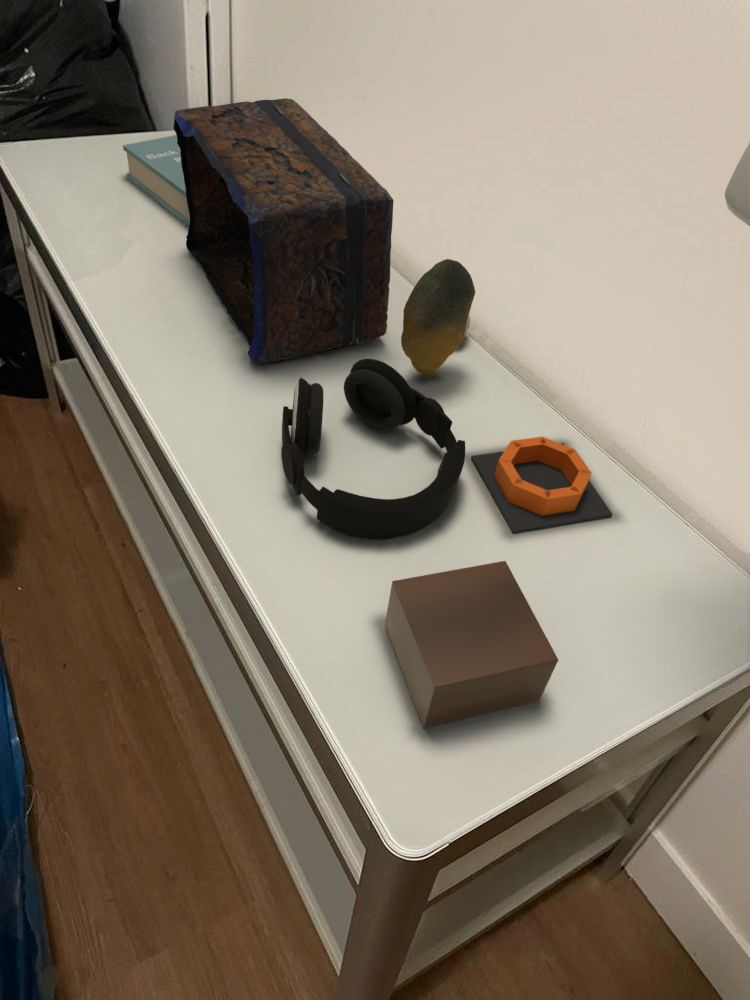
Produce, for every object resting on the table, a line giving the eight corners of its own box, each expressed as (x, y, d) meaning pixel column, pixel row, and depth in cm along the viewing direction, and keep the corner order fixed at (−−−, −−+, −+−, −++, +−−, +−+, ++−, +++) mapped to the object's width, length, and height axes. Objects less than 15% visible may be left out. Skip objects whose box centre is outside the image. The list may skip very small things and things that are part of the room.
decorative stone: (416, 404, 89) (436, 286, 79) (381, 377, 92) (396, 259, 82) (475, 376, 94) (502, 262, 83) (441, 351, 97) (462, 237, 86)
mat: (611, 516, 79) (612, 513, 79) (512, 533, 76) (513, 530, 76) (562, 445, 86) (563, 442, 86) (470, 458, 83) (471, 455, 83)
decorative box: (261, 386, 90) (409, 334, 97) (238, 222, 76) (414, 173, 82) (169, 265, 109) (299, 227, 115) (135, 113, 94) (287, 80, 100)
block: (539, 701, 63) (558, 659, 59) (423, 729, 61) (434, 687, 56) (491, 604, 70) (505, 560, 66) (384, 625, 67) (392, 580, 63)
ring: (597, 507, 79) (604, 490, 78) (518, 520, 77) (523, 503, 75) (558, 450, 85) (564, 433, 83) (484, 460, 83) (488, 443, 81)
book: (127, 177, 123) (122, 145, 119) (216, 158, 131) (214, 127, 127) (204, 238, 111) (202, 204, 108) (296, 213, 119) (297, 181, 116)
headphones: (396, 332, 84) (507, 461, 74) (384, 386, 90) (486, 511, 80) (243, 375, 76) (346, 524, 67) (242, 431, 82) (336, 575, 73)
